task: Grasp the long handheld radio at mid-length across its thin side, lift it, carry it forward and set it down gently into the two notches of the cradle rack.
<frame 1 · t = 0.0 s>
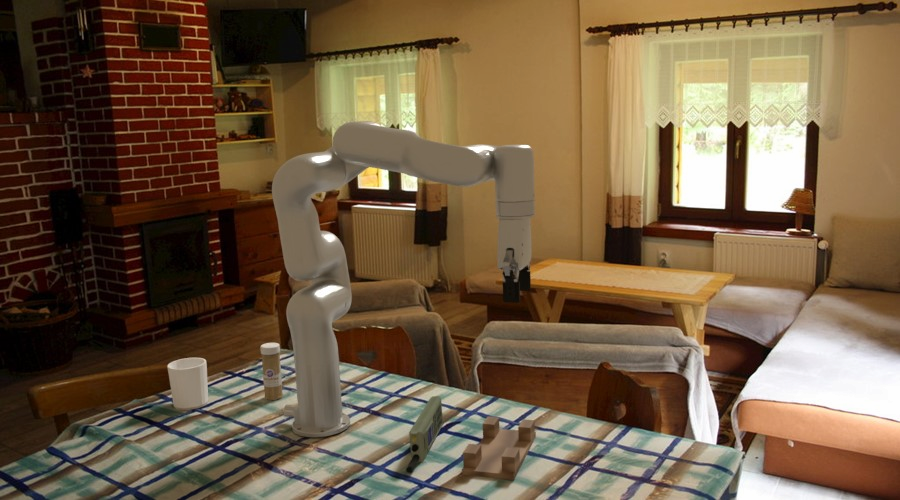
hand: (517, 296, 153), 31 cm above the table, tool pointing down, fingers open, 9 cm apart
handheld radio: (424, 449, 160), on the table
sprinkles bottle: (274, 398, 192), on the table
mug: (188, 404, 190), on the table
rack: (500, 454, 155), on the table
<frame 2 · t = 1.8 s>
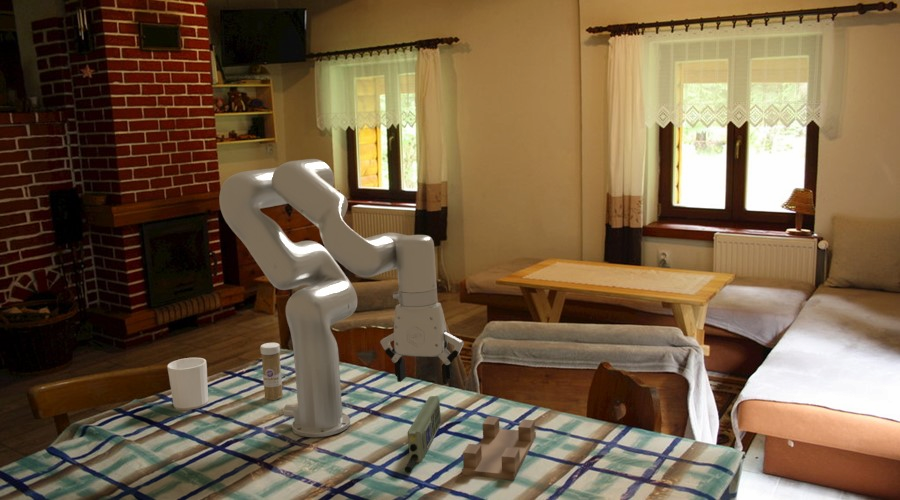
hand: (424, 380, 157), 14 cm above the table, tool pointing down, fingers open, 9 cm apart
nothing on the table moved.
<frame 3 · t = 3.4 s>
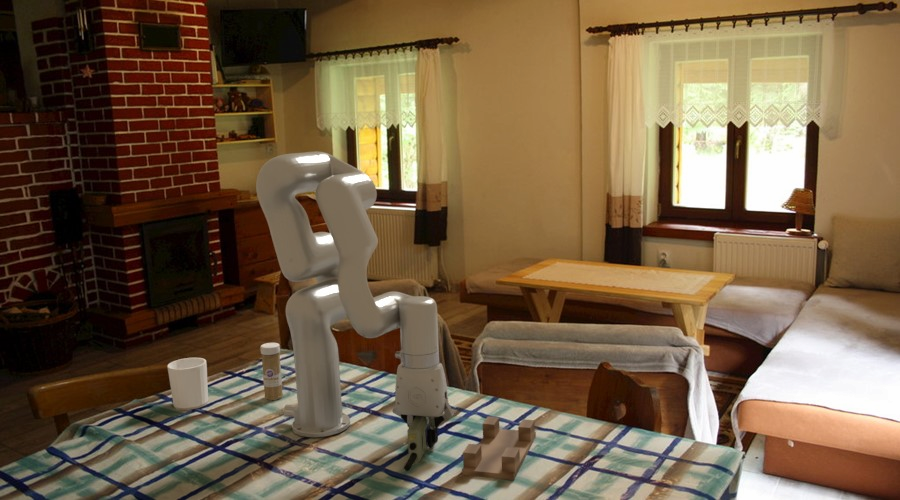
hand: (424, 443, 160), 1 cm above the table, tool pointing down, fingers closed on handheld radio, 2 cm apart
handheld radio: (421, 447, 160), on the table, touching gripper
everything else where it was.
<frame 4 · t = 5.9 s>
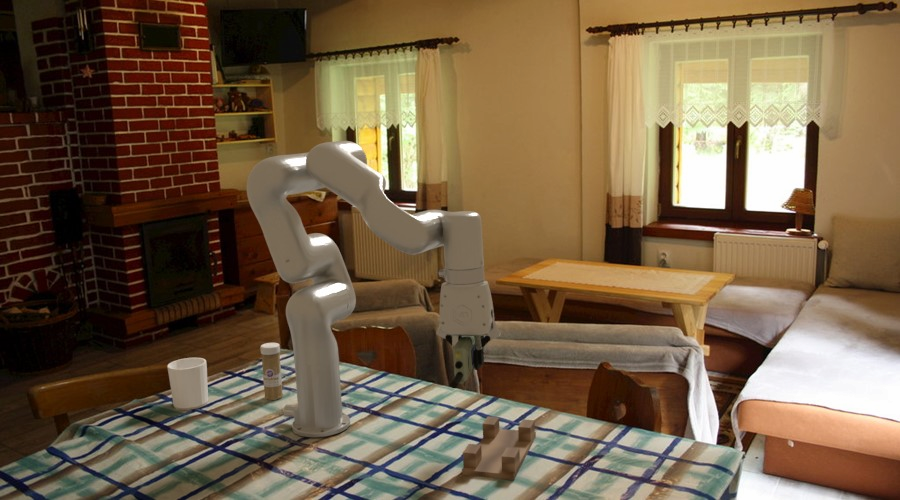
hand: (470, 366, 153), 18 cm above the table, tool pointing down, fingers closed on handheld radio, 2 cm apart
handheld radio: (467, 370, 154), point 17 cm above the table, touching gripper
everything else where it was.
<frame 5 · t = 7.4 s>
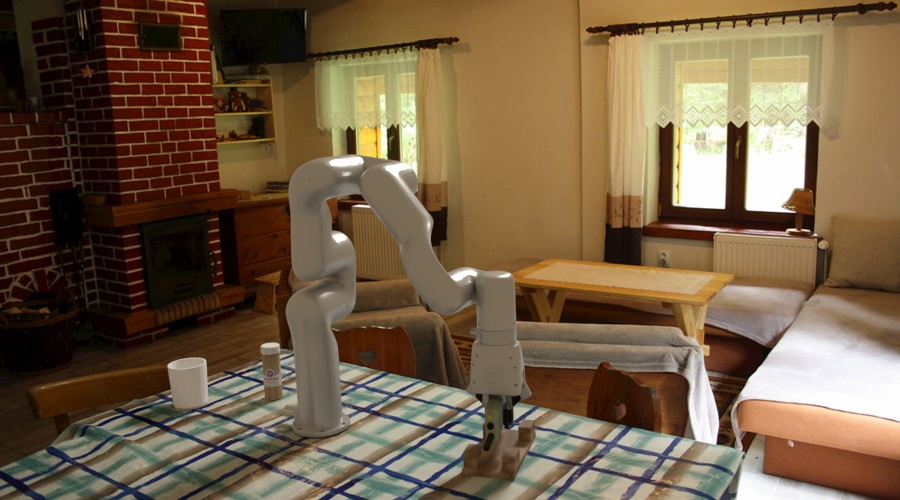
hand: (499, 424, 154), 6 cm above the table, tool pointing down, fingers closed on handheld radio, 2 cm apart
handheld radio: (496, 428, 154), point 5 cm above the table, touching gripper
everything else where it was.
when the fingers open (3 cm above the table, at t = 8.3 s): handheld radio drops 2 cm, resting on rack.
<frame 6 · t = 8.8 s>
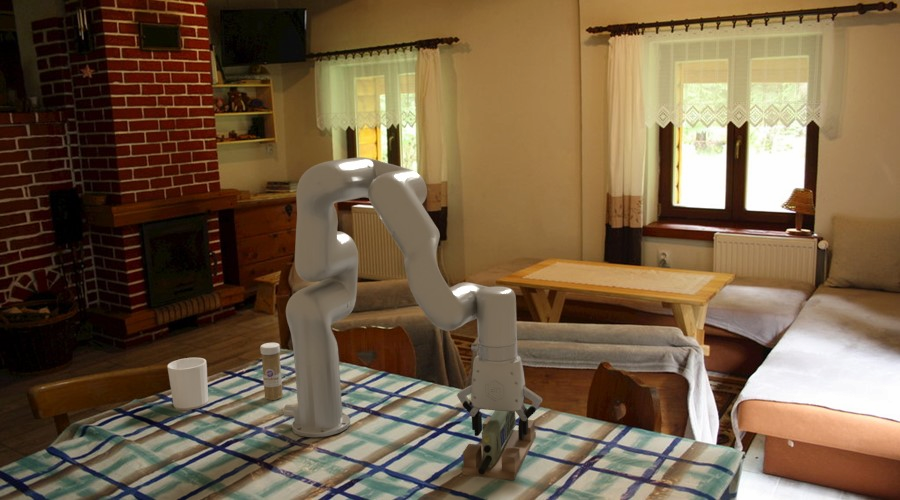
hand: (500, 435, 154), 4 cm above the table, tool pointing down, fingers open, 8 cm apart
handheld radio: (497, 450, 155), point 1 cm above the table, touching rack
everything else where it was.
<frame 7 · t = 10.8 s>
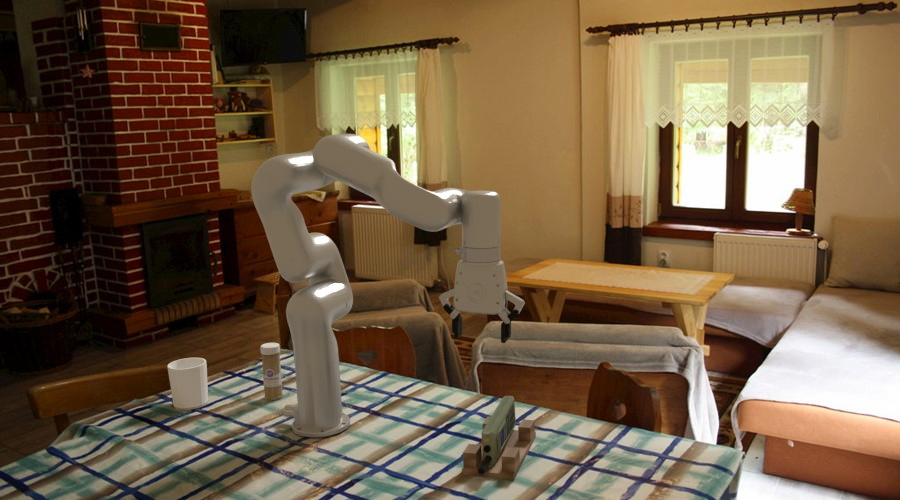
hand: (481, 338, 155), 23 cm above the table, tool pointing down, fingers open, 9 cm apart
nothing on the table moved.
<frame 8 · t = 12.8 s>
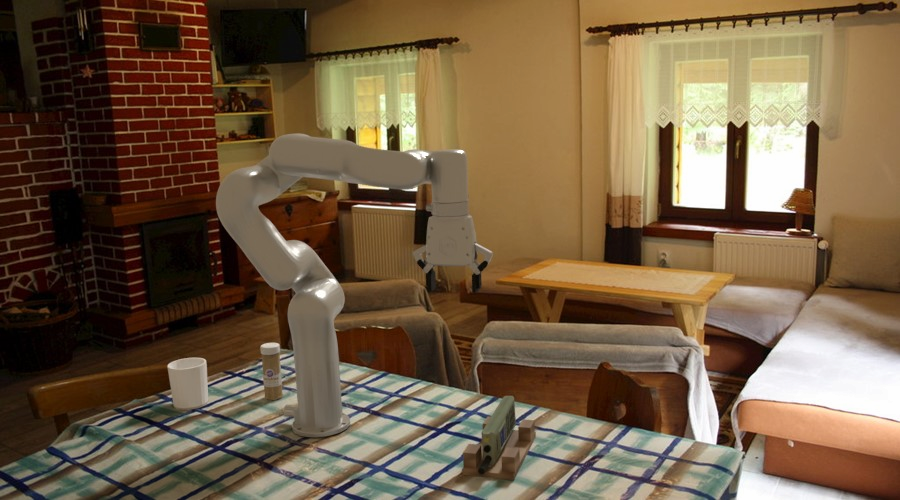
hand: (453, 291, 164), 30 cm above the table, tool pointing down, fingers open, 9 cm apart
nothing on the table moved.
at the end: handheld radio 0.8 cm off-centre on the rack, point 0.8 cm above the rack's base; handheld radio touching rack; the gripper is holding nothing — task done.
